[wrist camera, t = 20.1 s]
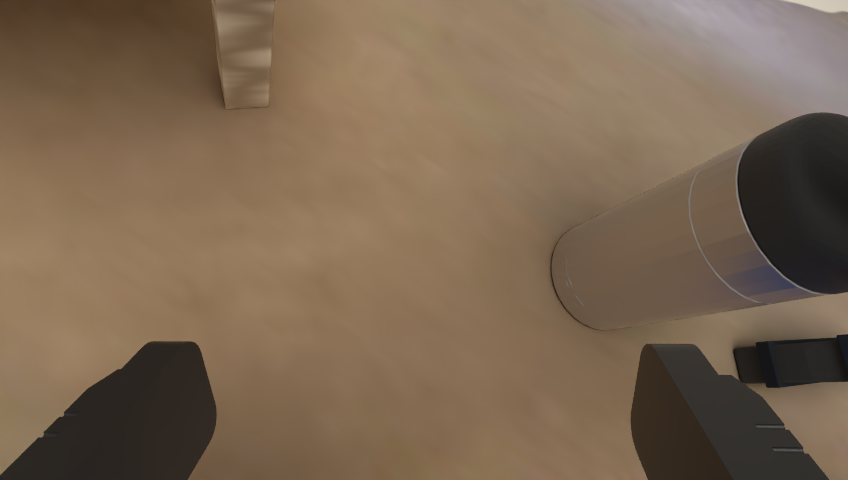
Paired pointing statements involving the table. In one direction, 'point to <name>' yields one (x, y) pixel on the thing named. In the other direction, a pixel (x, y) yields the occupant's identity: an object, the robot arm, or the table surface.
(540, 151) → the table surface
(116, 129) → the table surface
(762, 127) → the table surface
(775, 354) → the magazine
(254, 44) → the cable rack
